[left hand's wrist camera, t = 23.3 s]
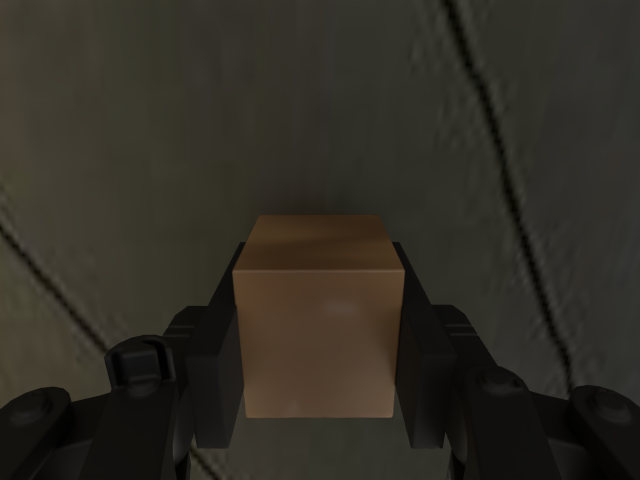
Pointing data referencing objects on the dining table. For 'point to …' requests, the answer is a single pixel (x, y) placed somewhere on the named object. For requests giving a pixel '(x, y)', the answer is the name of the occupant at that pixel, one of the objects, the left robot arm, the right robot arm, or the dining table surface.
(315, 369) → the block
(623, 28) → the dining table surface
